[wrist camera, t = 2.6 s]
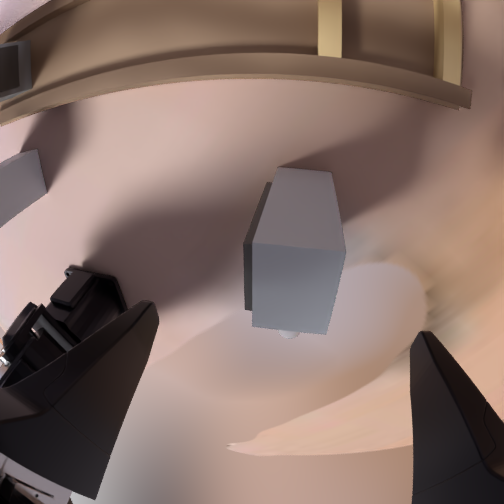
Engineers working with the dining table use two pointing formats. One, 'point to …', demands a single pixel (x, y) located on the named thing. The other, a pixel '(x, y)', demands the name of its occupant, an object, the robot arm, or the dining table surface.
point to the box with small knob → (20, 184)
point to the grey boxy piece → (294, 253)
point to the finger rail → (230, 47)
